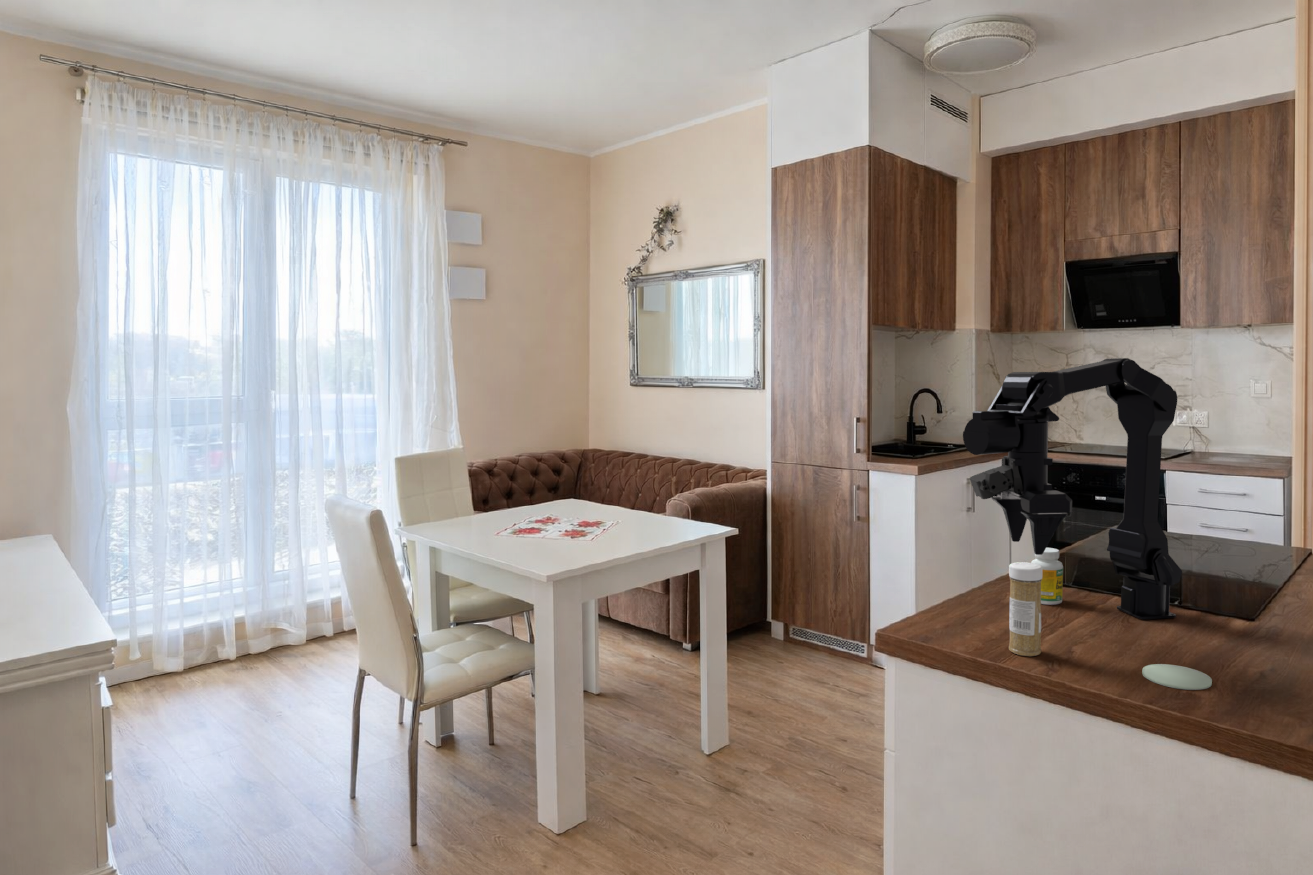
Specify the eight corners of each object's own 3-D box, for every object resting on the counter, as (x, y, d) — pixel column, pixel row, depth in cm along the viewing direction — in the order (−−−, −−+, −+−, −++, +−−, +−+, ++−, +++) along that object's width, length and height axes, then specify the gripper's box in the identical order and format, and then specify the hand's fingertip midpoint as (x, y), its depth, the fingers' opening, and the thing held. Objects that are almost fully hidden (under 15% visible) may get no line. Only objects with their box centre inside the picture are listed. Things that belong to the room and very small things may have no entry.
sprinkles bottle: (1047, 652, 121) (1048, 565, 120) (1029, 659, 119) (1031, 570, 118) (1019, 644, 125) (1020, 559, 124) (1001, 650, 123) (1002, 564, 121)
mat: (1181, 665, 115) (1182, 662, 115) (1226, 687, 107) (1226, 684, 107) (1129, 669, 114) (1129, 665, 114) (1170, 691, 106) (1170, 687, 106)
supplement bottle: (1032, 595, 151) (1033, 545, 150) (1064, 599, 148) (1065, 548, 147) (1027, 602, 147) (1028, 551, 146) (1060, 606, 144) (1061, 554, 143)
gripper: (957, 446, 137) (957, 536, 139) (996, 459, 119) (996, 562, 120) (1024, 444, 137) (1023, 535, 138) (1074, 457, 118) (1073, 561, 119)
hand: (1026, 547), depth 129 cm, fingers open, 9 cm apart
